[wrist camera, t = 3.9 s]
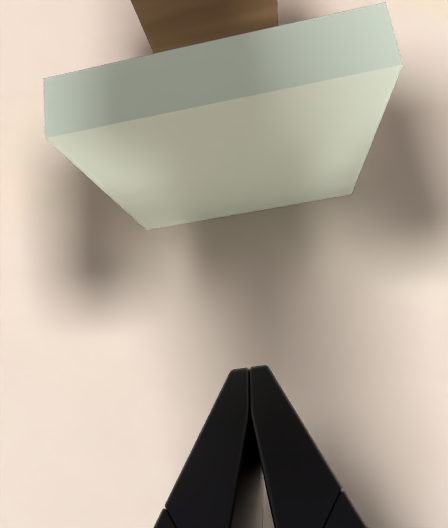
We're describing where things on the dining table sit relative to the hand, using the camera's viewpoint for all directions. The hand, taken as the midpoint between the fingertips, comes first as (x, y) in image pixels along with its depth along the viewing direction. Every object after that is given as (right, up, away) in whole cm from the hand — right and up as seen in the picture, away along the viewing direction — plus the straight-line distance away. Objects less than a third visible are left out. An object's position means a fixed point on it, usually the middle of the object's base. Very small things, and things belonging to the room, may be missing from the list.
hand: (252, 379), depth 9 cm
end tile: (0, +6, +11) cm, 13 cm away
